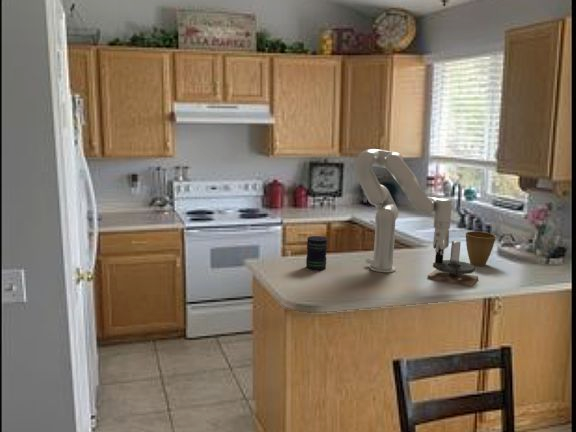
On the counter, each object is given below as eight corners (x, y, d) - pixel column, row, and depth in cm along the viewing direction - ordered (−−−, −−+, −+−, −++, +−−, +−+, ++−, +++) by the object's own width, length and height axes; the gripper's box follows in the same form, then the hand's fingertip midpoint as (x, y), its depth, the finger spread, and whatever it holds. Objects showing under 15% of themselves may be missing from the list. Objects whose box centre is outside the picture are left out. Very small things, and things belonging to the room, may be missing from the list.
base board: (427, 278, 266) (427, 275, 265) (436, 271, 277) (436, 268, 277) (470, 286, 255) (470, 283, 255) (478, 279, 267) (478, 276, 267)
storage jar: (302, 266, 278) (303, 236, 275) (319, 264, 282) (320, 235, 280) (312, 271, 269) (313, 241, 267) (329, 269, 274) (331, 239, 271)
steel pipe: (447, 276, 265) (450, 241, 262) (449, 273, 269) (452, 240, 266) (456, 277, 263) (459, 243, 260) (459, 275, 267) (462, 241, 264)
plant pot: (457, 261, 300) (459, 231, 297) (480, 259, 304) (483, 231, 301) (474, 268, 286) (477, 238, 283) (498, 267, 290) (502, 237, 288)
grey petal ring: (429, 269, 262) (429, 265, 262) (440, 261, 278) (440, 258, 277) (468, 276, 253) (468, 272, 253) (477, 267, 268) (478, 264, 268)
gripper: (445, 228, 257) (442, 267, 261) (454, 223, 270) (451, 260, 273) (429, 226, 261) (426, 264, 264) (438, 221, 274) (435, 258, 277)
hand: (438, 262), depth 269 cm, fingers closed
